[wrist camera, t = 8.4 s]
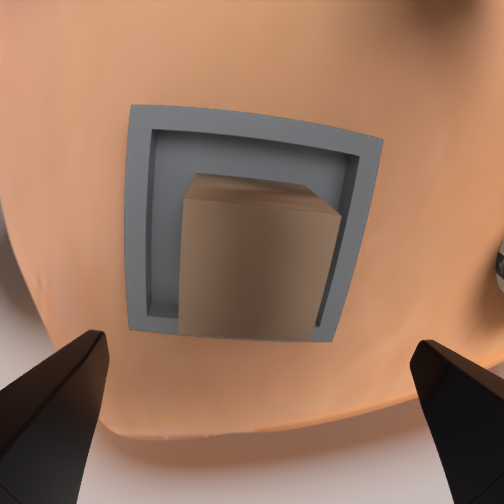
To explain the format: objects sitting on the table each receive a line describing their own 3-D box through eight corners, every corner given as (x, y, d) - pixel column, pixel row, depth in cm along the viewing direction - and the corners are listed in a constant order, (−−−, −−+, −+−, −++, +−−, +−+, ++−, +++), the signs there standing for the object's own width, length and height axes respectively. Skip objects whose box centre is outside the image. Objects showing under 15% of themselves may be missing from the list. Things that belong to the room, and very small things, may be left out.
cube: (304, 184, 18) (341, 215, 12) (286, 280, 20) (310, 340, 14) (196, 172, 17) (183, 198, 11) (188, 272, 19) (178, 333, 14)
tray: (365, 135, 18) (383, 139, 15) (322, 321, 22) (331, 342, 20) (142, 106, 16) (130, 104, 14) (136, 308, 21) (129, 329, 19)
